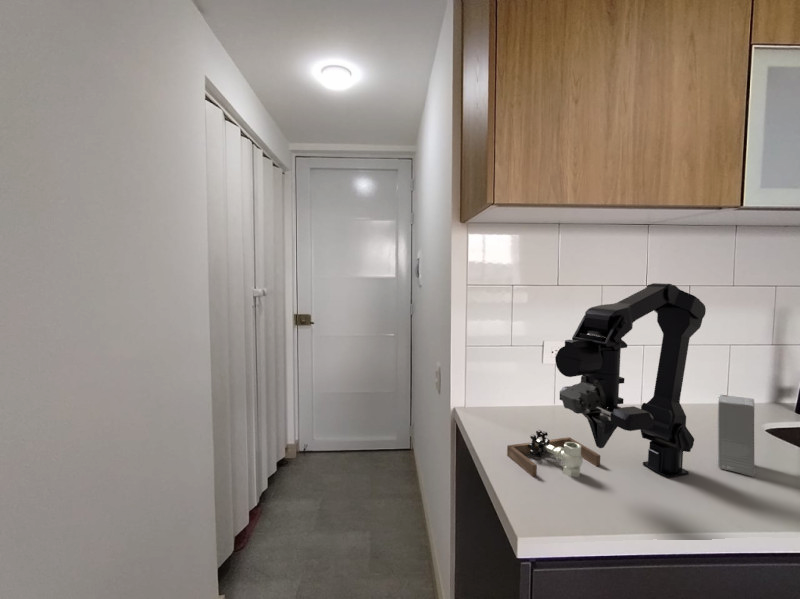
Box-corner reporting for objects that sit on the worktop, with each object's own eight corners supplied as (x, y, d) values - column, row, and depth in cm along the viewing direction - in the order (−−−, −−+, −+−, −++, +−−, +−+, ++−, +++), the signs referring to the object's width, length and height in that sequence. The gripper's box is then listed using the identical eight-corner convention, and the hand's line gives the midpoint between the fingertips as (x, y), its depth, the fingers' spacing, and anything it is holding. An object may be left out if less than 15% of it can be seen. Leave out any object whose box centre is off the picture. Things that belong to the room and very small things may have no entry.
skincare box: (754, 478, 87) (759, 407, 86) (713, 467, 92) (717, 400, 91) (753, 464, 94) (758, 398, 92) (715, 454, 98) (719, 391, 97)
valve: (589, 474, 89) (546, 452, 100) (590, 445, 89) (546, 426, 99) (569, 481, 86) (527, 458, 96) (571, 452, 85) (527, 432, 96)
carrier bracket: (569, 446, 103) (569, 437, 102) (599, 465, 93) (600, 455, 92) (507, 455, 98) (507, 445, 98) (532, 476, 88) (532, 465, 87)
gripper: (539, 363, 86) (537, 433, 87) (606, 387, 68) (602, 475, 69) (582, 360, 89) (579, 428, 90) (657, 382, 71) (653, 467, 72)
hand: (600, 447), depth 80 cm, fingers closed
